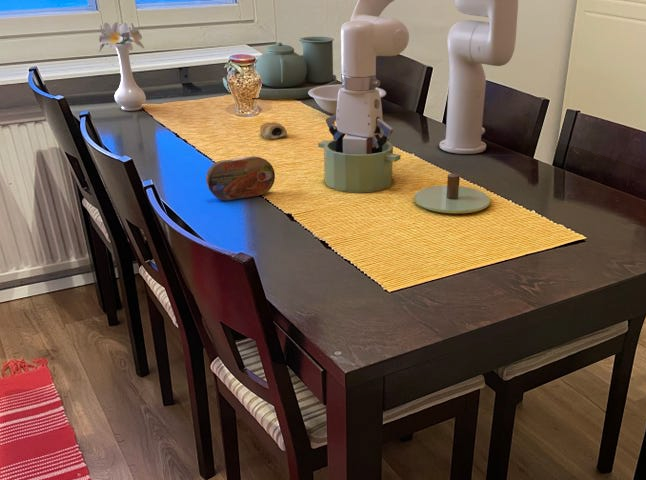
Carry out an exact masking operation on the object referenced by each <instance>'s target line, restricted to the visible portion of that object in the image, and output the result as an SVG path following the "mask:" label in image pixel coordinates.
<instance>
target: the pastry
mask: <svg viewBox="0 0 646 480" xmlns="http://www.w3.org/2000/svg"><path fill="white" fill-rule="evenodd" d="M259 128H260V129H259V130H260V134H261V136H262V137H263V138H264V139H265V140H270V141H271V140H276V139H282V138H284V137H286V135H287V130H286V127H285V126H284V125H282V124H281V123H279V122H275V121H274V122H265V123H263V124H260V127H259Z"/></svg>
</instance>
